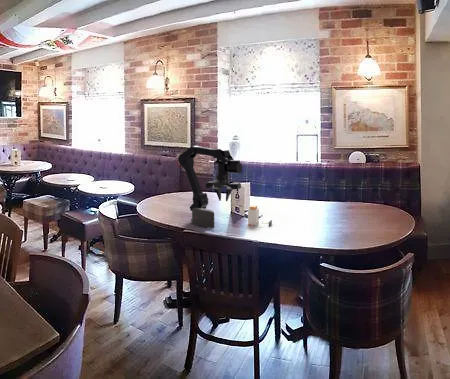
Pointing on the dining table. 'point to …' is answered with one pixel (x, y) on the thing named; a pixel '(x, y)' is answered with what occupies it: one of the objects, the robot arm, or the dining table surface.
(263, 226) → the switch board
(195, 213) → the leaning round-cornered charcoal block
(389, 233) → the dining table surface
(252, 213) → the white bottle
